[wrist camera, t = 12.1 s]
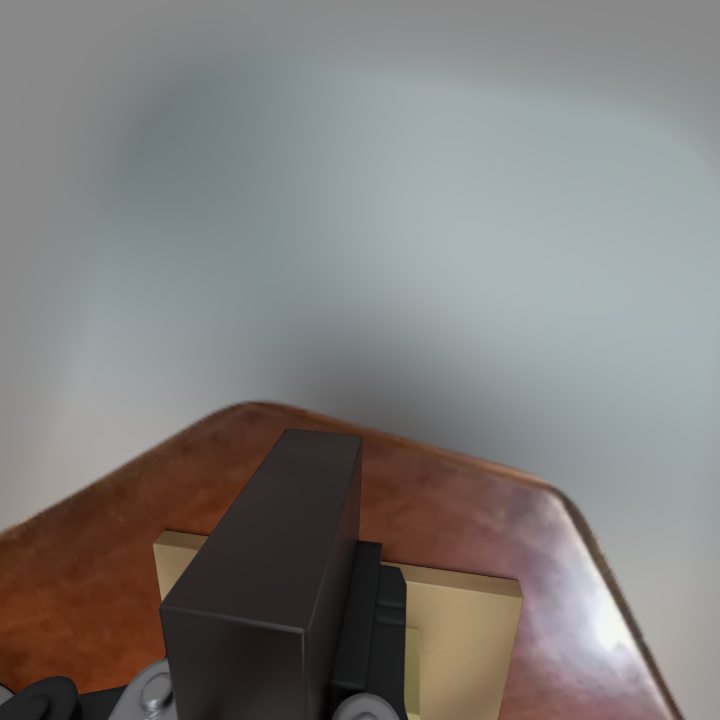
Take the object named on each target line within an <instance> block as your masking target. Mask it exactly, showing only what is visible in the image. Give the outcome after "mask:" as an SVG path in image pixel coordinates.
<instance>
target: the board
mask: <svg viewBox="0 0 720 720" xmlns="http://www.w3.org/2000/svg"><path fill="white" fill-rule="evenodd" d="M207 538H208V536H201V535H194V534H188V533H181V532H174V531H167V530H165V531H164V532H163V533H162V534H161V535H160V536H159V537H158V539H157V540H156V541H155V542H154V543H153V549H154V555H155V561H156V568H157V574H158V580H159V587H160V593H161V599H162V601H163V599H164V598H165V597H166V595H167V594H168V592H169V591H170V590H171V588H172V587H173V586H174V584H175V583H176V581H177V580H178V579H179V577H180V576H181V574H182V573H183V572H184V570H185V569H186V567H187V566H188V565H189V563H190V562H191V561H192V559H193V558H194V556H195V555H196V554H197V552H198V551H199V549H200V548H201V547H202V545H203V544H204V542H205V541H206V540H207ZM381 565H387V566H394V567H400V570H401V572H402V574H403V577H404V579H405V582H406V584H407V603H406V627H408V628H414V629H419V641H420V714H421V716H420V720H498V715H499V711H500V706H501V702H502V697H503V692H504V688H505V683H506V679H507V674H508V669H509V665H510V660H511V656H512V651H513V646H514V642H515V637H516V633H517V628H518V623H519V619H520V614H521V610H522V605H523V600H524V598H523V595H522V592H521V589H520V585H519V582H518V581H516V580H509V579H502V578H495V577H488V576H481V575H474V574H467V573H460V572H453V571H446V570H439V569H432V568H425V567H418V566H411V565H404V564H397V563H390V562H383V561H381Z"/></svg>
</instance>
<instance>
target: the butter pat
mask: <svg viewBox="0 0 720 720" xmlns="http://www.w3.org/2000/svg"><path fill="white" fill-rule="evenodd" d="M404 703H405V709H406V713H407V716H408V719H409V720H420V716H421V714H420V641H419V629H414V628H408V627H406V642H405V680H404Z"/></svg>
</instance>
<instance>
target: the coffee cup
mask: <svg viewBox="0 0 720 720" xmlns="http://www.w3.org/2000/svg"><path fill="white" fill-rule="evenodd" d="M13 696H14V694H13V693H11V692H10V691H9V690H7V689H6V688H4V687H3V686H1V685H0V705H1V704H2V703H4V702H5V701H7V700H8V699H10V698H11V697H13Z"/></svg>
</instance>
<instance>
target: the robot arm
mask: <svg viewBox="0 0 720 720" xmlns="http://www.w3.org/2000/svg"><path fill="white" fill-rule="evenodd" d="M381 558H382V543H376V542H369V541H362V540H358V542H357V547H356V552H355V557H354V562H353V567H352V572H351V577H350V582H349V587H348V592H347V597H346V602H345V607H344V612H343V617H342V622H341V627H340V633H339V638H338V643H337V648H336V653H335V658H334V663H333V668H332V673H331V678H330V683H329V720H409V719H408V716H407V713H406V709H405V703H404V680H405V642H406V603H407V584H406V582H405V579H404V577H403V574H402V572H401V570H400V567H394V566H387V565H381ZM0 720H178V719H177V713H176V707H175V701H174V695H173V689H172V683H171V677H170V671H169V666H168V660H167V654H166V656H165V657H164V658H163V659H161V660H158V661H156V662H154V663H152V664H151V665H149V666H147V667H146V668H145V669H143V670H142V671H141V672H140V673H139V674H138V675H137V676H136V677H135V678H134V679H133V680H132V681H131V682H130V683H129V684H127V685H125V686H121V687H117V688H112V689H107V690H102V691H97V692H91V693H86V694H81V695H78V691H77V688H76V685H75V683H74V682H73V681H72V680H71V679H69V678H67V677H62V676H56V677H50V678H46V679H43V680H40V681H38V682H35V683H33V684H31V685H30V686H28V687H26V688H25V689H23V690H21V691H20V692H18V693H17V694H15V695H14V696H13V697H11V698H10V699H8V700H7V701H5V702H4V703H2V704H1V705H0Z"/></svg>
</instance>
